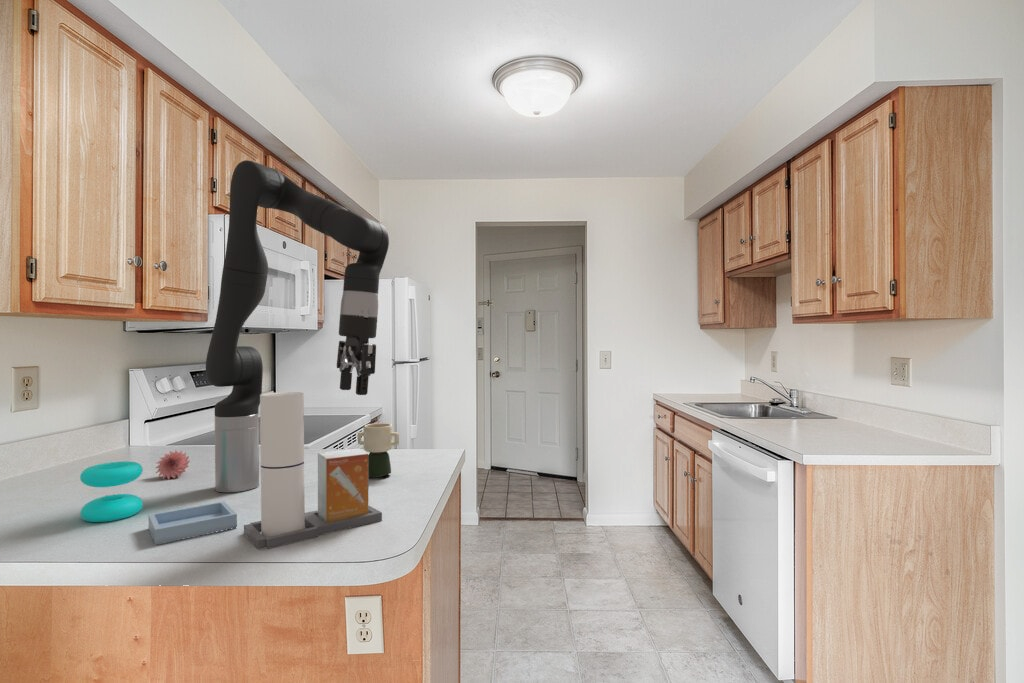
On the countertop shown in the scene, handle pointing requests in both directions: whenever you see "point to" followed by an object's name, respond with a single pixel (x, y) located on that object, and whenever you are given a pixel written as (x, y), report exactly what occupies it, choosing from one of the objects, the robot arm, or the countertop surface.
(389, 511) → the countertop surface
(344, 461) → the small box
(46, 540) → the countertop surface
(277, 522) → the cylindrical container
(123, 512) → the donuts
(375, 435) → the character mug
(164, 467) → the flower
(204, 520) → the tray
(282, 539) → the holder
